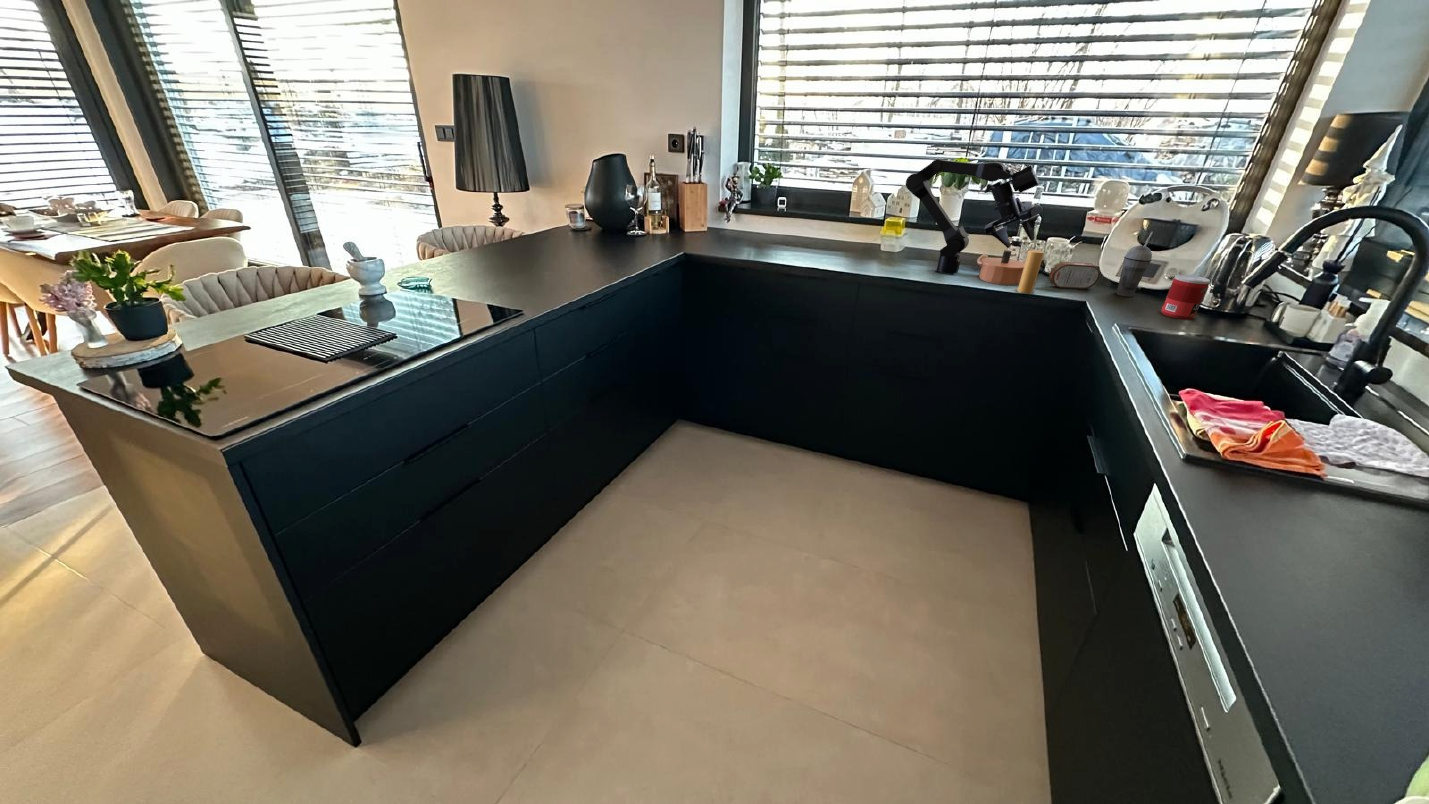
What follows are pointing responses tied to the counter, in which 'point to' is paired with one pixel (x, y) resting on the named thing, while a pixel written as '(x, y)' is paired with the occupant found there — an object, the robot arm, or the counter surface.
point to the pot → (1000, 275)
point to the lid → (1004, 261)
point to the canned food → (1185, 296)
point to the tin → (1074, 275)
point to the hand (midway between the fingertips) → (1020, 244)
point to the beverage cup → (1134, 269)
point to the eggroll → (1030, 271)
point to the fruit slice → (982, 258)
